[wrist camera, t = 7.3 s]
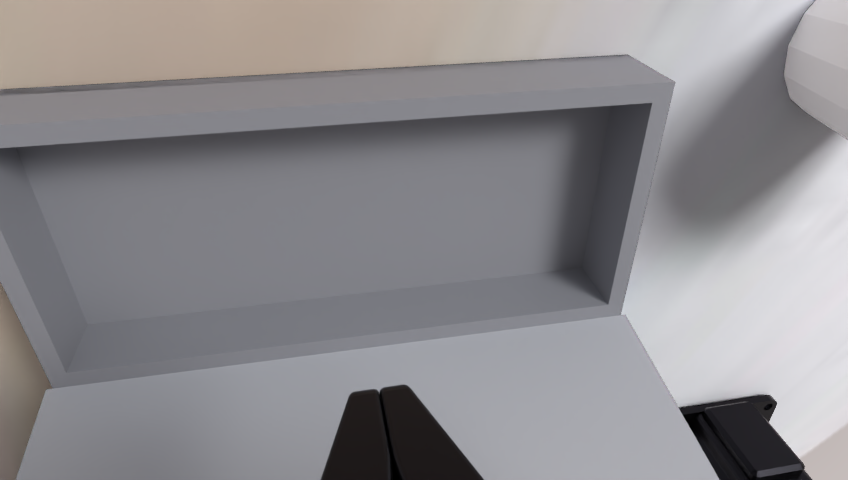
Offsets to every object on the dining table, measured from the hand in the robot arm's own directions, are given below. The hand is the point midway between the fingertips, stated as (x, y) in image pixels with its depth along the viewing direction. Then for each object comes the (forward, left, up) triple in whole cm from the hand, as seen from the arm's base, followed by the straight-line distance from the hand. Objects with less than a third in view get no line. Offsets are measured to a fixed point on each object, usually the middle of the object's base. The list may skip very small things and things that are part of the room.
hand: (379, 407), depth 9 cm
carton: (-3, 0, -13) cm, 13 cm away
